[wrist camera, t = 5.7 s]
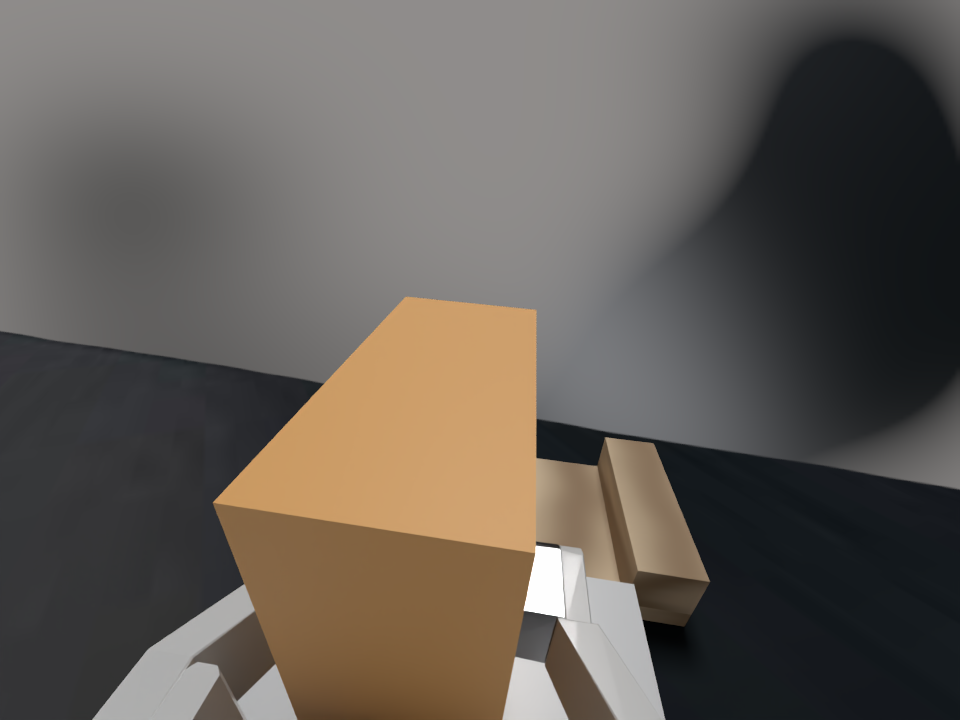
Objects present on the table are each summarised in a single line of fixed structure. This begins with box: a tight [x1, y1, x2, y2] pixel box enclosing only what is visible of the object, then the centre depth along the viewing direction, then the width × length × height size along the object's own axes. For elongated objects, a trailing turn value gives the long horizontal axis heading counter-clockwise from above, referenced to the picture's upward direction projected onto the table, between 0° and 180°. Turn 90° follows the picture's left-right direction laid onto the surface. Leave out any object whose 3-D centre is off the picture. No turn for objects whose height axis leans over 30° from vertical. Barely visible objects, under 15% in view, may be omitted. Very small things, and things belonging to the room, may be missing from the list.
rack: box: [536, 437, 710, 627], centre depth 22 cm, size 11×9×4 cm
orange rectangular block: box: [213, 297, 536, 720], centre depth 9 cm, size 3×6×12 cm, turn 172°
